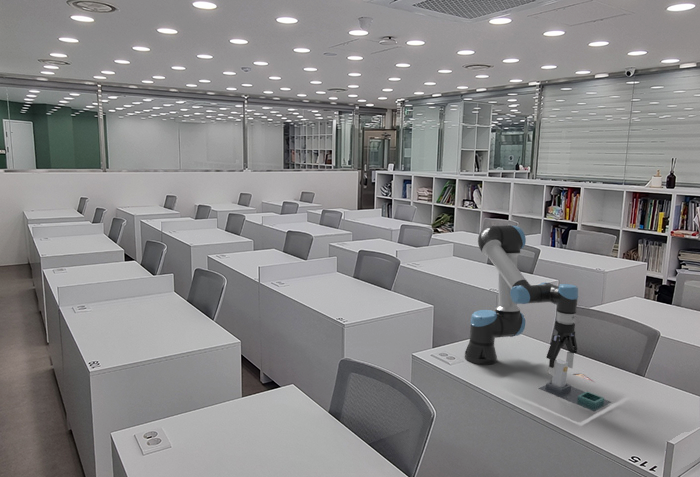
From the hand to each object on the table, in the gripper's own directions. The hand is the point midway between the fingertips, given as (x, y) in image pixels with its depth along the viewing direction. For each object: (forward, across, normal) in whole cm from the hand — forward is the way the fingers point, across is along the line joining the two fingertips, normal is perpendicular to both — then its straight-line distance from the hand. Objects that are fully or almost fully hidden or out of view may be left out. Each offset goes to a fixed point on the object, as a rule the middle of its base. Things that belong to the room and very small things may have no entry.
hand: (560, 370), depth 216 cm
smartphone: (+10, +19, -2) cm, 21 cm away
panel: (+9, 0, -6) cm, 11 cm away
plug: (+8, 0, 0) cm, 8 cm away
